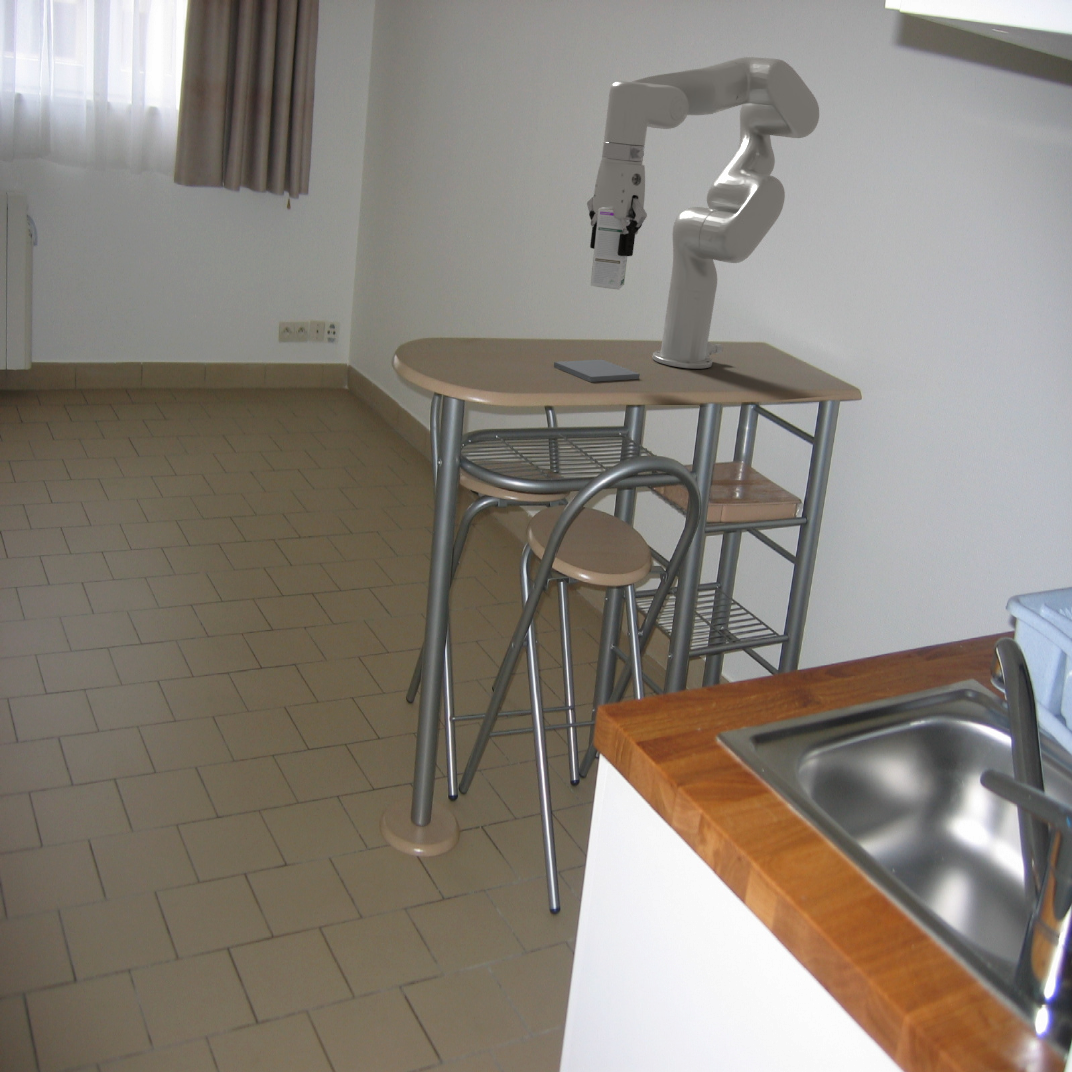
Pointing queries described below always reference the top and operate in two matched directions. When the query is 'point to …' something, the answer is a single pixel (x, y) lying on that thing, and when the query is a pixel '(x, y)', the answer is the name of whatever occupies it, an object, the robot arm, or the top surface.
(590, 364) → the grey square plate
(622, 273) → the syrup box
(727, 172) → the robot arm
